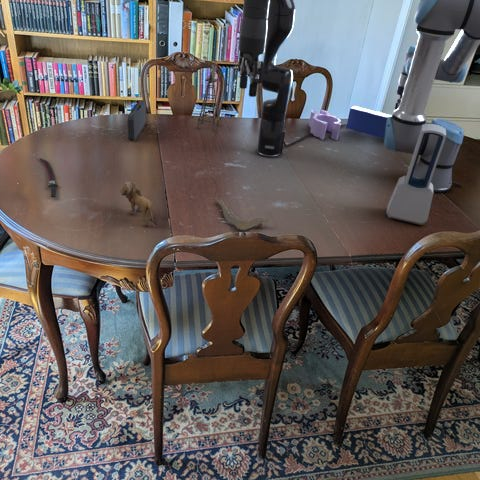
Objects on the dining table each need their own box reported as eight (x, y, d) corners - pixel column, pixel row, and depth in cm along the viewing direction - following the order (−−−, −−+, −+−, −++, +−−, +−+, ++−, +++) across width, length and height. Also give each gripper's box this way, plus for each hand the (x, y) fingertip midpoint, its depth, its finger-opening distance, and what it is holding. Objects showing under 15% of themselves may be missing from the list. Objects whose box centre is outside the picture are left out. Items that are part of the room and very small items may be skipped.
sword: (61, 197, 141) (61, 193, 140) (50, 198, 139) (50, 194, 139) (49, 160, 164) (48, 156, 163) (39, 160, 163) (39, 157, 162)
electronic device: (425, 217, 152) (456, 128, 136) (425, 227, 146) (458, 136, 130) (386, 208, 155) (413, 120, 139) (385, 218, 149) (412, 127, 133)
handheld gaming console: (139, 121, 202) (139, 98, 197) (146, 122, 202) (145, 99, 197) (127, 140, 183) (126, 115, 178) (134, 141, 183) (133, 116, 178)
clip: (302, 123, 220) (305, 109, 217) (327, 124, 223) (330, 110, 219) (316, 139, 204) (319, 124, 200) (342, 140, 207) (346, 124, 203)
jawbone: (250, 238, 132) (250, 232, 131) (198, 212, 143) (198, 206, 141) (269, 225, 138) (269, 219, 137) (218, 201, 148) (218, 195, 147)
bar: (345, 128, 217) (350, 108, 211) (349, 125, 220) (354, 105, 215) (397, 142, 206) (403, 121, 201) (400, 139, 210) (406, 119, 205)
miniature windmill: (214, 131, 201) (219, 58, 184) (195, 128, 202) (199, 55, 185) (219, 124, 208) (224, 54, 192) (201, 122, 209) (205, 51, 193)
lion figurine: (118, 210, 138) (116, 182, 133) (132, 204, 141) (131, 177, 137) (151, 229, 130) (150, 201, 126) (165, 223, 134) (165, 195, 129)
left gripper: (274, 40, 128) (267, 99, 137) (256, 30, 139) (251, 85, 148) (249, 39, 125) (243, 99, 134) (233, 29, 137) (228, 85, 145)
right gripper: (410, 91, 188) (394, 145, 201) (421, 83, 202) (406, 135, 214) (392, 87, 192) (378, 141, 204) (404, 79, 205) (390, 130, 217)
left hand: (247, 92), depth 141 cm, fingers open, 8 cm apart
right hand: (392, 137), depth 209 cm, fingers closed on bar, 5 cm apart
